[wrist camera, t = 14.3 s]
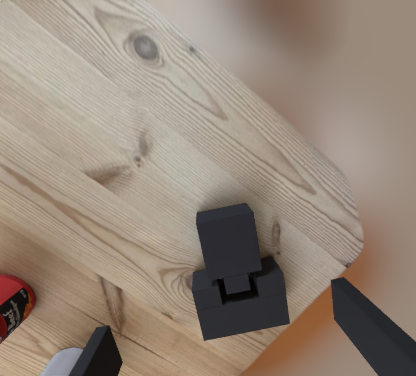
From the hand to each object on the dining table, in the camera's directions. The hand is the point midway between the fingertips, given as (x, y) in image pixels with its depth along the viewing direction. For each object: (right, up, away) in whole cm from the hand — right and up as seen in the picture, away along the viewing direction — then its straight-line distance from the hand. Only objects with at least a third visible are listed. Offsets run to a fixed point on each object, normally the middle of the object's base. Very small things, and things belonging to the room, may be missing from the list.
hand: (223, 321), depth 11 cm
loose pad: (+2, 0, +17) cm, 17 cm away
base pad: (+4, -7, +18) cm, 20 cm away
